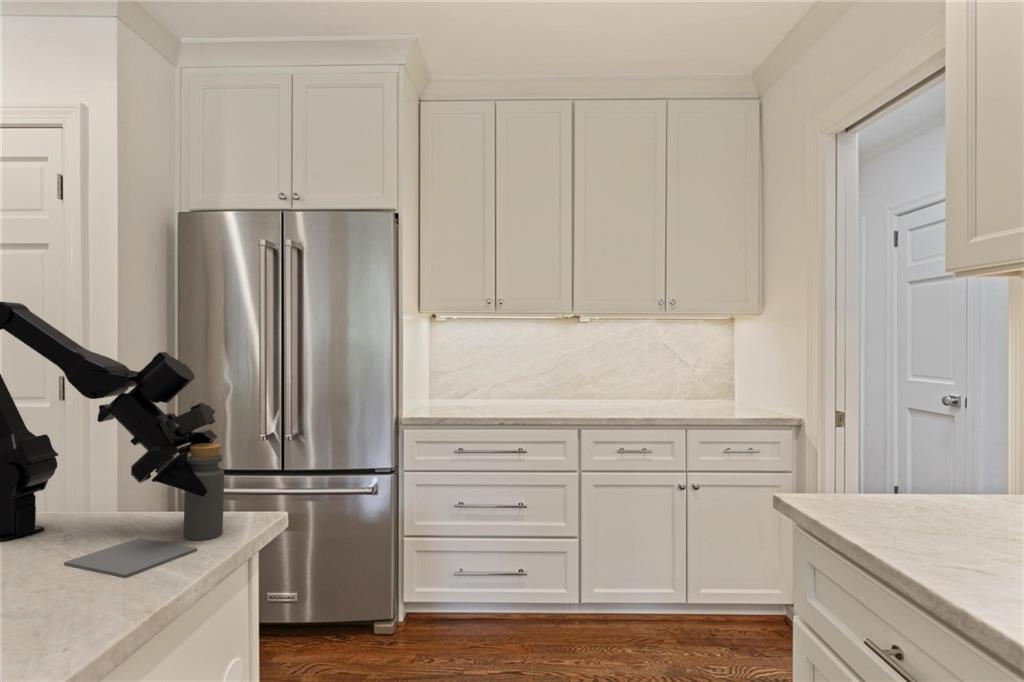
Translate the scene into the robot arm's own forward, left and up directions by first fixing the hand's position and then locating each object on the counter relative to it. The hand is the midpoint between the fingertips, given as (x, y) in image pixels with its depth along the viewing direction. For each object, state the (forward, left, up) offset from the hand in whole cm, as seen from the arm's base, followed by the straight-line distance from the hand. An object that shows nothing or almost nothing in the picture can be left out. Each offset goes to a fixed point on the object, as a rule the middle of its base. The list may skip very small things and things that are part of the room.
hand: (213, 489), depth 103 cm
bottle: (-1, -1, -8) cm, 8 cm away
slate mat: (-2, -13, -8) cm, 15 cm away
